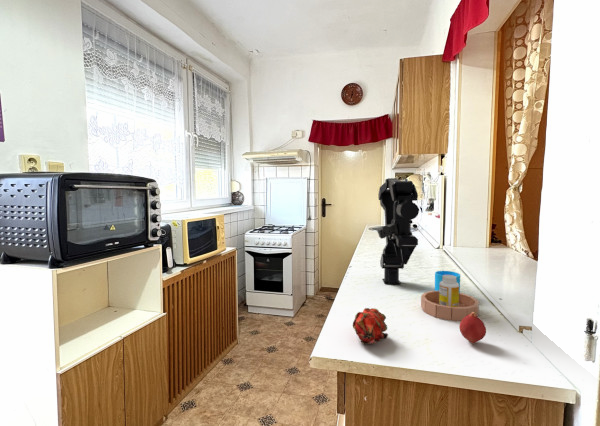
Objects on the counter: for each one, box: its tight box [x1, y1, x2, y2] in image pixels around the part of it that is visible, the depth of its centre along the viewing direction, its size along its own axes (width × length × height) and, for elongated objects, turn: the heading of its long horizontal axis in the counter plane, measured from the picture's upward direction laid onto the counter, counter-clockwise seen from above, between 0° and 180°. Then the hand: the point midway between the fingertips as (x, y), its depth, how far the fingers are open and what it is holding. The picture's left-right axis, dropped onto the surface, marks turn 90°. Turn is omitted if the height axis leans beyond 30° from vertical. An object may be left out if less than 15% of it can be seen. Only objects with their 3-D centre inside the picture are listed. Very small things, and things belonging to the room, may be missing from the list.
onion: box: [459, 312, 487, 345], centre depth 79 cm, size 6×6×8 cm
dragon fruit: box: [352, 307, 389, 346], centre depth 82 cm, size 8×8×12 cm
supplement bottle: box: [439, 275, 459, 307], centre depth 100 cm, size 6×6×10 cm
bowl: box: [420, 290, 480, 322], centre depth 100 cm, size 16×16×4 cm
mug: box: [434, 270, 461, 293], centre depth 115 cm, size 12×8×8 cm
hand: (401, 261), depth 112 cm, fingers open, 9 cm apart
